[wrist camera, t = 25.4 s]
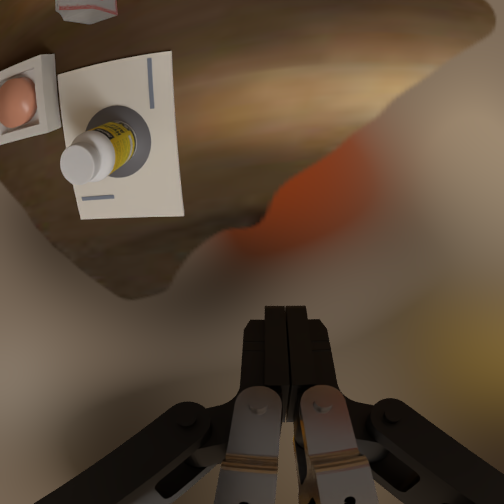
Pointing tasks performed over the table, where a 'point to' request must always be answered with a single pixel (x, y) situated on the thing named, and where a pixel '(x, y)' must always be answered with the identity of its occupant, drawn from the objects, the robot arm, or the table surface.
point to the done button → (17, 102)
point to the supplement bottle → (98, 152)
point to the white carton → (86, 10)
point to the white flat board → (144, 125)
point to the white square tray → (46, 97)
